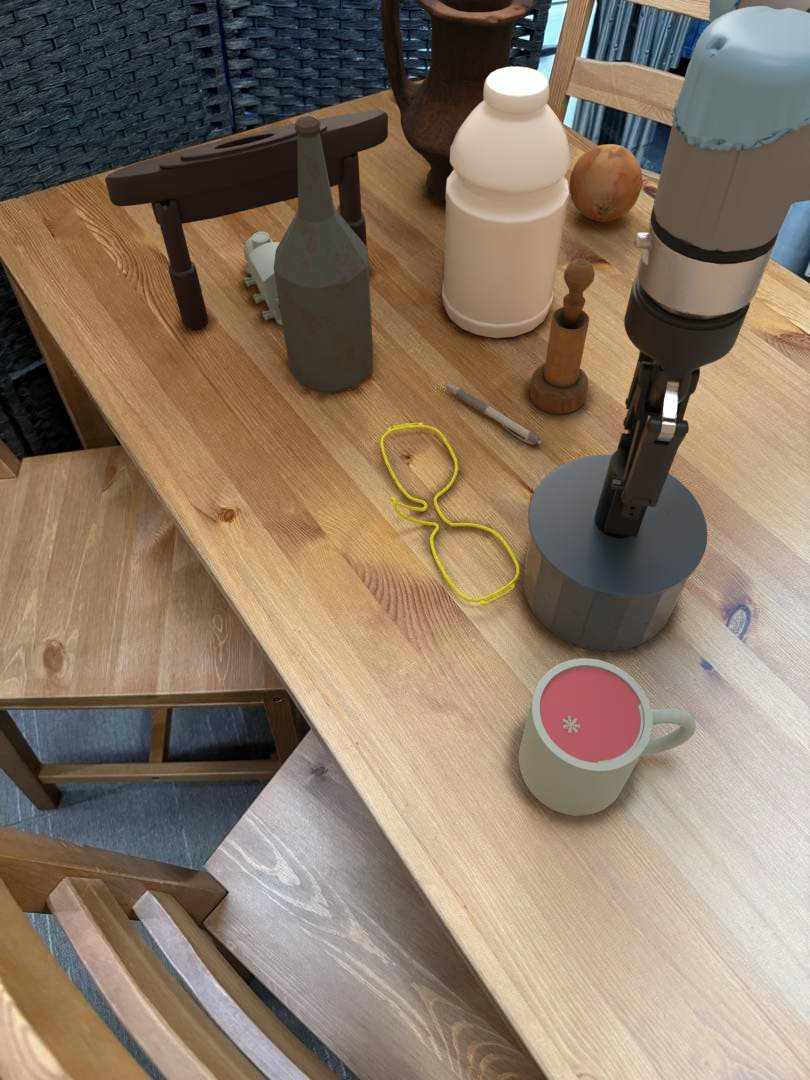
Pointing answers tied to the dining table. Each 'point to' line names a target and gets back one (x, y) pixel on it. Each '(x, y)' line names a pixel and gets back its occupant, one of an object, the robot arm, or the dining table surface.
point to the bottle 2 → (505, 207)
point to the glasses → (420, 425)
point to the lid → (606, 558)
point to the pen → (495, 415)
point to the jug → (448, 72)
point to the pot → (592, 609)
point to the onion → (605, 182)
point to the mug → (590, 735)
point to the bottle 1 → (323, 281)
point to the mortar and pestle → (565, 348)
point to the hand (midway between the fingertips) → (621, 509)
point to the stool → (243, 194)
